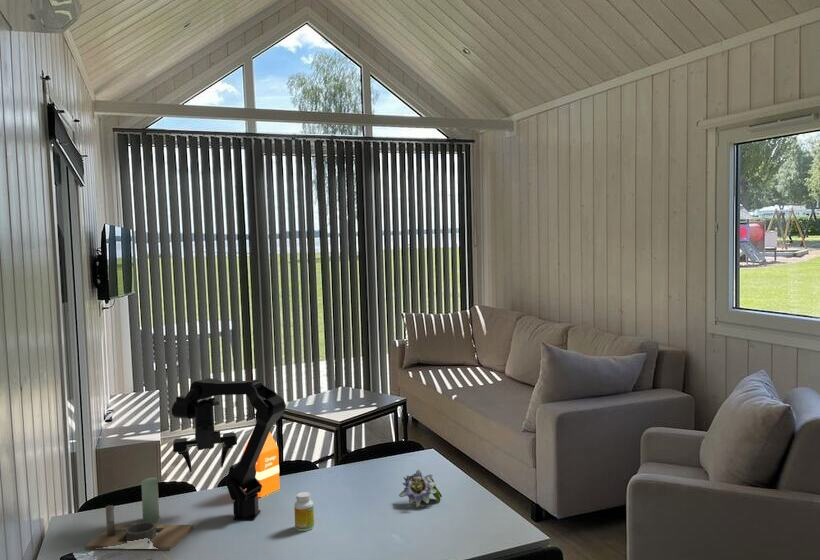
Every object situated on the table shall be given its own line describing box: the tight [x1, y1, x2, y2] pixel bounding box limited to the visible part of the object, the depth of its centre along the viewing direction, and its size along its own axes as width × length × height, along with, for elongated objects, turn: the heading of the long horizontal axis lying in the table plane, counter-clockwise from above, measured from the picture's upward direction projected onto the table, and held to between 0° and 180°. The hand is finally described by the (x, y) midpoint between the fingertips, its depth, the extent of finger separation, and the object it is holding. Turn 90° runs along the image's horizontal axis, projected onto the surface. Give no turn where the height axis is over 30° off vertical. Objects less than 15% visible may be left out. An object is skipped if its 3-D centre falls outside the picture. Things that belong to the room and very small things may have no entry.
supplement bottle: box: [293, 491, 315, 532], centre depth 182 cm, size 5×5×10 cm
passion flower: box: [399, 469, 442, 508], centre depth 199 cm, size 11×11×12 cm
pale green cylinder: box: [140, 477, 160, 523], centre depth 191 cm, size 5×5×12 cm
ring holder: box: [85, 504, 194, 551], centre depth 178 cm, size 24×14×9 cm, turn 85°
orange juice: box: [242, 431, 281, 498], centre depth 212 cm, size 8×9×20 cm
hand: (206, 469), depth 197 cm, fingers open, 9 cm apart
